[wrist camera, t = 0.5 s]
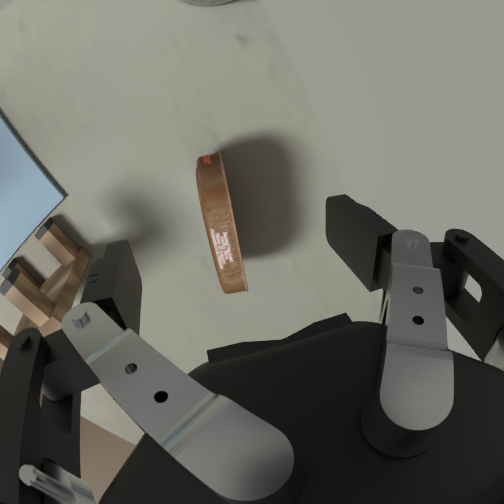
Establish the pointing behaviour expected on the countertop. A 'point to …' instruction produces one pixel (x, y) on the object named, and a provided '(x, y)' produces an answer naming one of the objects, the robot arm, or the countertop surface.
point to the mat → (21, 193)
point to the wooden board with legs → (44, 286)
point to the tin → (220, 222)
